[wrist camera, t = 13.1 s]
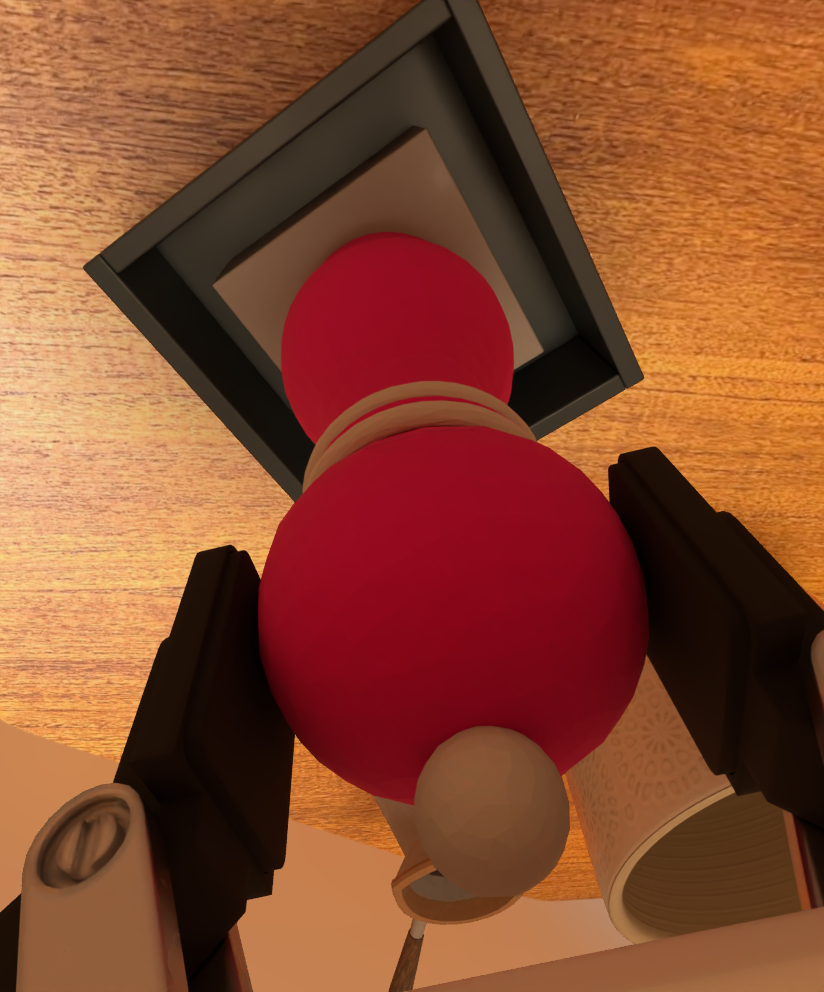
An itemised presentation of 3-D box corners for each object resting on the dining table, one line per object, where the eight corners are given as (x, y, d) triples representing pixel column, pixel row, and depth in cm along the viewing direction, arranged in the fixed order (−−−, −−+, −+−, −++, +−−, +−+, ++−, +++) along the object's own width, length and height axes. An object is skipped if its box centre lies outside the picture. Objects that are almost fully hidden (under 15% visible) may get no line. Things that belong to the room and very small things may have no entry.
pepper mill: (444, 178, 21) (862, 492, 4) (508, 366, 25) (862, 930, 8) (253, 268, 22) (-48, 821, 5) (343, 435, 26) (344, 1072, 9)
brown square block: (414, 124, 23) (426, 127, 20) (520, 322, 28) (545, 351, 25) (228, 261, 25) (210, 285, 22) (355, 425, 30) (356, 466, 26)
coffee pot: (368, 604, 37) (382, 867, 24) (544, 634, 39) (639, 885, 27) (294, 813, 47) (276, 1074, 34) (437, 825, 50) (469, 1071, 37)
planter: (562, 503, 34) (693, 743, 21) (836, 522, 37) (1101, 747, 24) (497, 710, 43) (563, 969, 30) (722, 714, 45) (871, 954, 33)
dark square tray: (437, -4, 22) (463, -34, 17) (596, 334, 29) (645, 378, 24) (130, 237, 25) (80, 267, 20) (341, 489, 32) (341, 554, 28)
